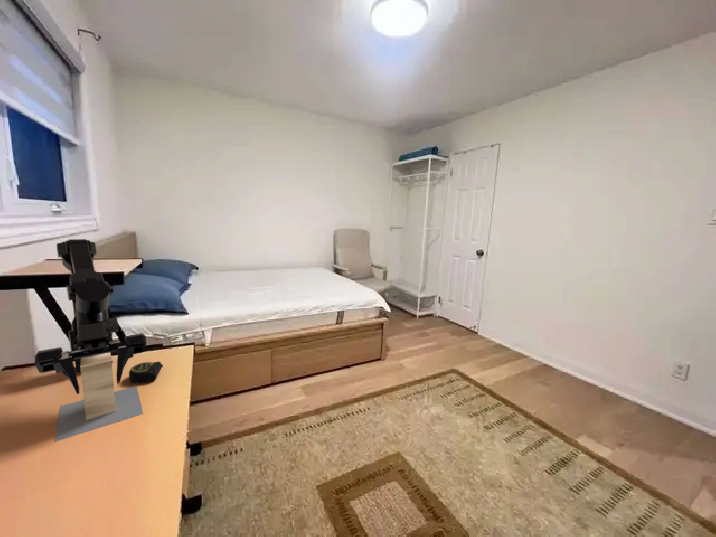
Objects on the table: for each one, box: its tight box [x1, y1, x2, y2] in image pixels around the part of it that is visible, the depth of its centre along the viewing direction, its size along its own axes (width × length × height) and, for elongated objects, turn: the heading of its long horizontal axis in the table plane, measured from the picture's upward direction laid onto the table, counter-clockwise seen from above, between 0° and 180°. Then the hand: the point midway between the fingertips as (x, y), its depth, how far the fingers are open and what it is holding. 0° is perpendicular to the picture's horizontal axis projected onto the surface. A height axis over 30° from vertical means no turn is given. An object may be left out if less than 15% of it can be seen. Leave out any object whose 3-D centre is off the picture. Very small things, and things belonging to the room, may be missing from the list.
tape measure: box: [128, 361, 164, 384], centre depth 82 cm, size 7×7×4 cm
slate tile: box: [54, 385, 144, 442], centre depth 69 cm, size 14×14×1 cm
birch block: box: [80, 352, 116, 420], centre depth 68 cm, size 5×5×12 cm
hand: (98, 387), depth 67 cm, fingers open, 6 cm apart
